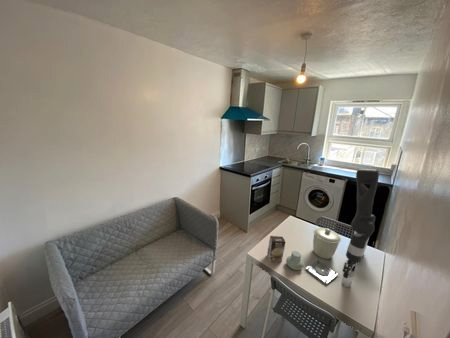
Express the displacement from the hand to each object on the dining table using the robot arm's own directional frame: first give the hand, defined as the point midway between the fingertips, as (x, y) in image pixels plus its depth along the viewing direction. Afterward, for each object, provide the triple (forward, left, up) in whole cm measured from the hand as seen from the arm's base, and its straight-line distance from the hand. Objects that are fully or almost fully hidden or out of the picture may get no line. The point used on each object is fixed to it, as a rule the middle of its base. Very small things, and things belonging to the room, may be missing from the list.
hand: (348, 274), depth 115 cm
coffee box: (+22, -38, -7) cm, 44 cm away
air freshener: (+16, -26, -8) cm, 31 cm away
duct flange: (+5, -13, -7) cm, 15 cm away
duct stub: (0, 0, -7) cm, 7 cm away
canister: (-14, -23, -7) cm, 28 cm away
